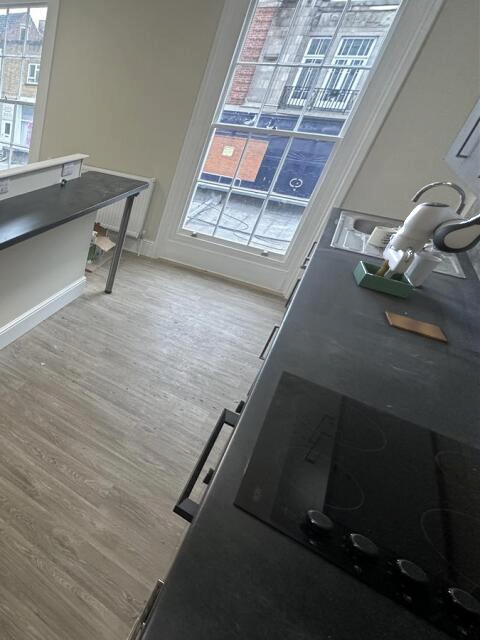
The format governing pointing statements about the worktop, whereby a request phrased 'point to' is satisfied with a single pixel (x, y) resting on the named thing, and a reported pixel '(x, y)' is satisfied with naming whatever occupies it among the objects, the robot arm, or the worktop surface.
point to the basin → (382, 280)
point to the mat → (415, 326)
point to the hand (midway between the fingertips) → (384, 274)
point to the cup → (422, 267)
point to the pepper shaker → (384, 269)
